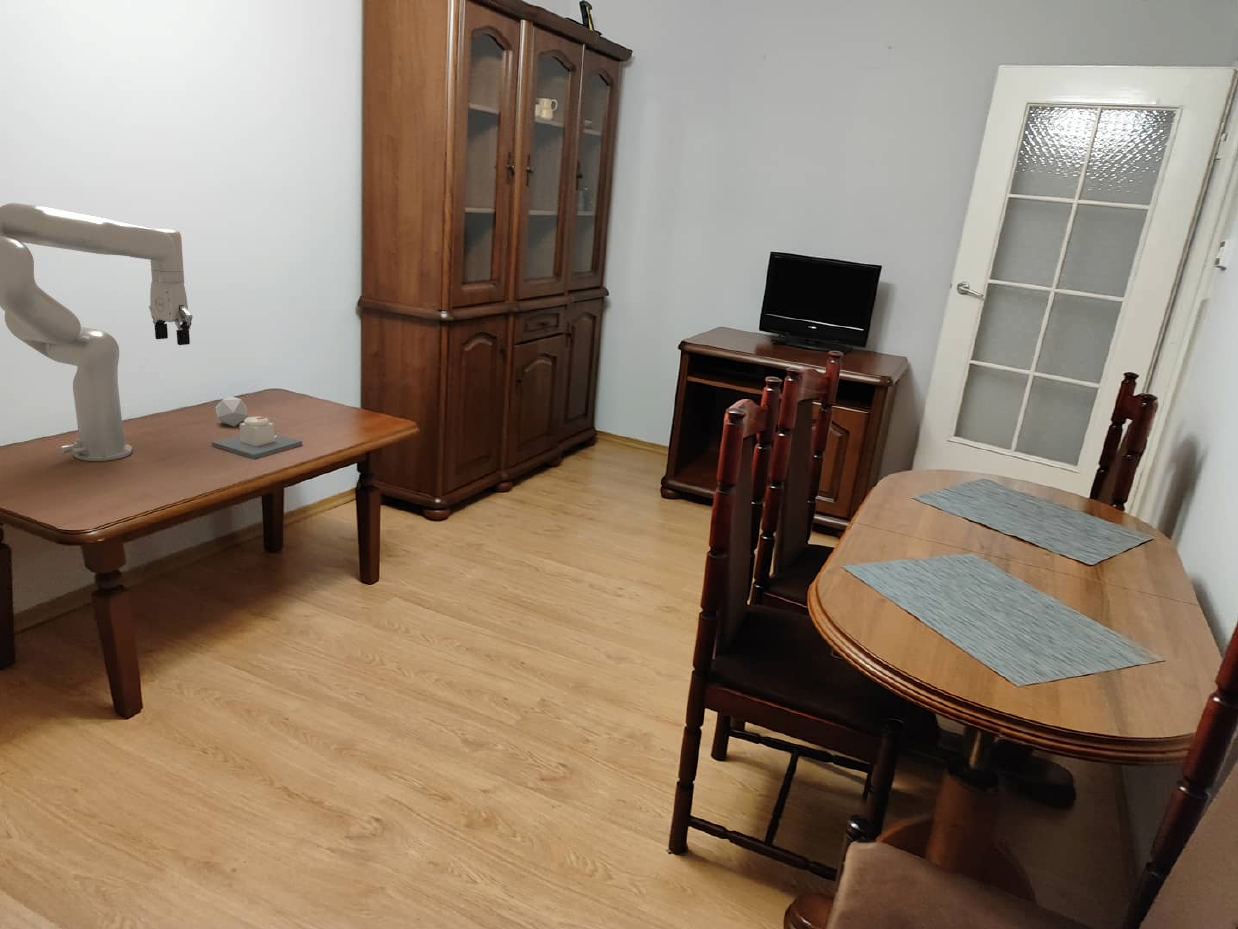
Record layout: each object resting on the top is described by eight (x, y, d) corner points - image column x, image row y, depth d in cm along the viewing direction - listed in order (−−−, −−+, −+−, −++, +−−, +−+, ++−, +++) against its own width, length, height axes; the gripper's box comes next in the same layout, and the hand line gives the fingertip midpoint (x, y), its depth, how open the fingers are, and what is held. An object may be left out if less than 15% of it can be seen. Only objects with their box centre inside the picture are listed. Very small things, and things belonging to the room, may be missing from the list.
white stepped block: (256, 446, 219) (254, 422, 217) (240, 441, 221) (239, 418, 219) (274, 441, 224) (273, 418, 222) (259, 436, 226) (257, 414, 224)
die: (226, 420, 244) (206, 398, 236) (253, 407, 245) (234, 385, 237) (229, 437, 238) (209, 415, 231) (256, 423, 239) (237, 401, 232)
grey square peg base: (253, 459, 213) (252, 439, 211) (211, 446, 219) (210, 427, 217) (302, 445, 226) (301, 427, 225) (261, 433, 233) (260, 415, 231)
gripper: (134, 273, 216) (140, 337, 221) (174, 281, 208) (178, 348, 213) (162, 272, 222) (166, 335, 228) (201, 280, 214) (205, 345, 220)
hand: (172, 341), depth 220 cm, fingers open, 9 cm apart
